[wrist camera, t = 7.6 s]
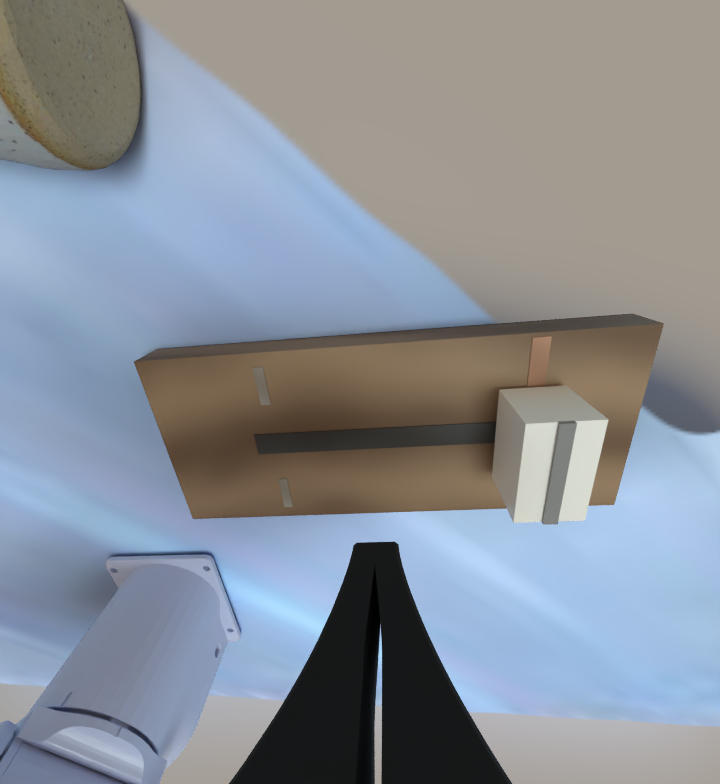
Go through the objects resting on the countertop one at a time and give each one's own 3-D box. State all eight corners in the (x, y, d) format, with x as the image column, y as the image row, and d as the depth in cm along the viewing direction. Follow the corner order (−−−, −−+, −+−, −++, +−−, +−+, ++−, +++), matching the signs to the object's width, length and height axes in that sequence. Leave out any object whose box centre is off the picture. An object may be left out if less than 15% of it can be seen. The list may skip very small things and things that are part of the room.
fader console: (593, 480, 21) (614, 505, 19) (207, 495, 23) (192, 519, 21) (632, 313, 17) (664, 323, 15) (157, 349, 19) (133, 362, 17)
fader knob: (550, 473, 18) (586, 523, 15) (491, 475, 18) (514, 525, 15) (565, 385, 16) (610, 421, 13) (498, 388, 16) (527, 425, 13)
